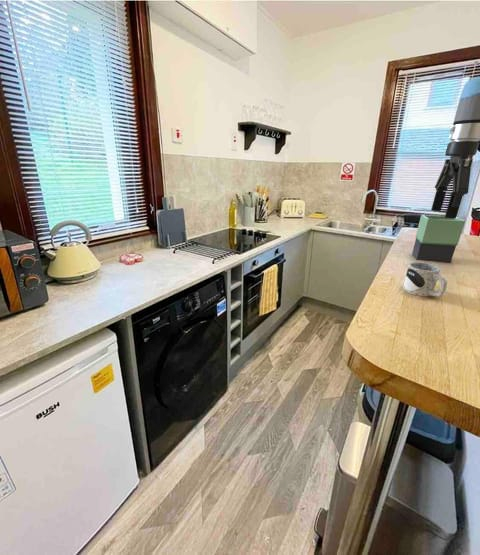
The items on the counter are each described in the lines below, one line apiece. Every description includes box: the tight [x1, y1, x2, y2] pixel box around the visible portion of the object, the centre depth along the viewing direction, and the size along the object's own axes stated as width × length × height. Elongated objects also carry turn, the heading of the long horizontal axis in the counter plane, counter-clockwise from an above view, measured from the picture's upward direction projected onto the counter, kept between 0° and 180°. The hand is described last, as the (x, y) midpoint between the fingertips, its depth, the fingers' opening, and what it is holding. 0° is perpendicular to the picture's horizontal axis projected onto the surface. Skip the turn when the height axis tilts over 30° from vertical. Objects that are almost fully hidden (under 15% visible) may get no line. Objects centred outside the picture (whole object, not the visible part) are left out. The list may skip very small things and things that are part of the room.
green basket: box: [415, 214, 466, 247], centre depth 90 cm, size 10×8×8 cm
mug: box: [402, 261, 448, 298], centre depth 68 cm, size 10×7×7 cm, turn 14°
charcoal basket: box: [411, 237, 457, 264], centre depth 93 cm, size 10×6×6 cm, turn 72°
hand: (442, 214), depth 88 cm, fingers open, 13 cm apart
